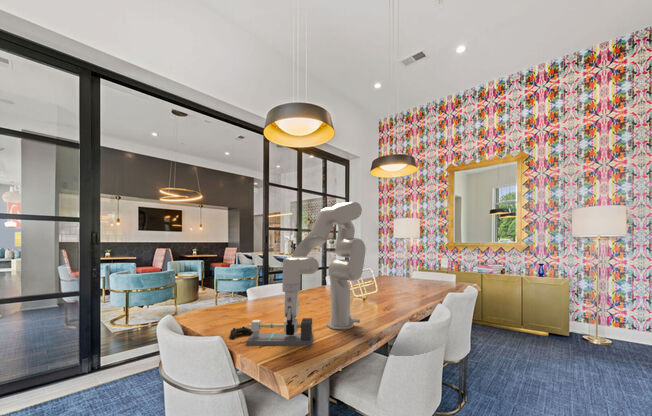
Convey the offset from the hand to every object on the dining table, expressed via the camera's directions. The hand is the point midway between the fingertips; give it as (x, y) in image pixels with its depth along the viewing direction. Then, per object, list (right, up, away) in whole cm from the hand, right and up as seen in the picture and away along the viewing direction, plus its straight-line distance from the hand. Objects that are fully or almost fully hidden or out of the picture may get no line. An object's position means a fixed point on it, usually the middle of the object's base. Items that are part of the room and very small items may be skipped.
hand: (290, 332), depth 119 cm
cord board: (-4, -3, 0) cm, 5 cm away
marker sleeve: (0, +1, 0) cm, 1 cm away
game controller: (-23, -5, +6) cm, 24 cm away
